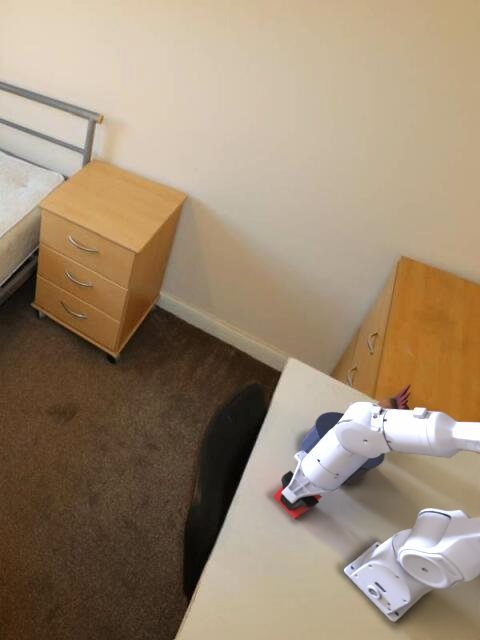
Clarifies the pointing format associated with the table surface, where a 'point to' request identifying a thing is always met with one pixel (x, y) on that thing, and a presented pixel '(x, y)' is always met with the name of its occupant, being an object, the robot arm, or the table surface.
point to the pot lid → (328, 422)
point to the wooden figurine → (396, 400)
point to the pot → (312, 441)
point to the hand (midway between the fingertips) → (295, 498)
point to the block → (297, 511)
